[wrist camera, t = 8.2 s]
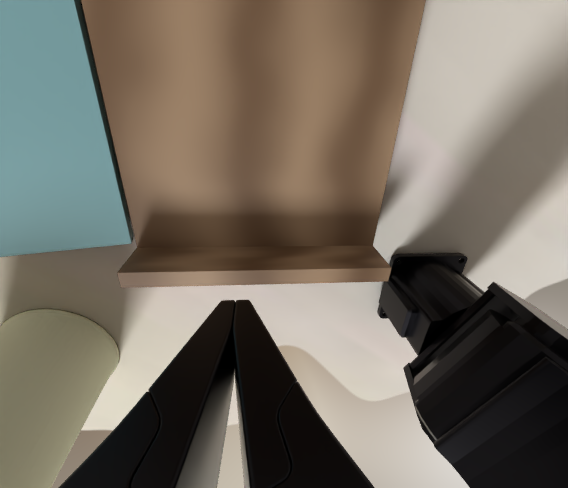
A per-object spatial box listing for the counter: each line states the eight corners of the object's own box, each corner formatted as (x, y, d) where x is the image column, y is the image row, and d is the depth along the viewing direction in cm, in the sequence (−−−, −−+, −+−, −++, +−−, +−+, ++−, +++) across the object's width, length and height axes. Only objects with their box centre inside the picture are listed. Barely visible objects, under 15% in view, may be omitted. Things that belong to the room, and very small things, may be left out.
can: (46, 394, 26) (-98, 598, 15) (-30, 325, 22) (-305, 542, 11) (138, 370, 26) (58, 559, 15) (80, 295, 21) (-90, 486, 11)
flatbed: (434, -138, 13) (532, -267, 8) (360, 245, 22) (388, 281, 17) (60, -197, 11) (-71, -402, 6) (150, 246, 20) (121, 287, 16)
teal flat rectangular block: (28, -193, 10) (-351, -314, 7) (131, 243, 18) (-31, 260, 15) (45, -158, 11) (-268, -249, 8) (134, 233, 19) (-15, 246, 16)
